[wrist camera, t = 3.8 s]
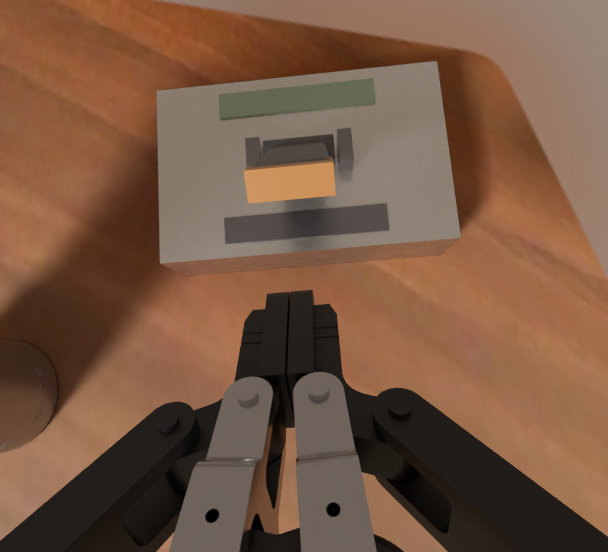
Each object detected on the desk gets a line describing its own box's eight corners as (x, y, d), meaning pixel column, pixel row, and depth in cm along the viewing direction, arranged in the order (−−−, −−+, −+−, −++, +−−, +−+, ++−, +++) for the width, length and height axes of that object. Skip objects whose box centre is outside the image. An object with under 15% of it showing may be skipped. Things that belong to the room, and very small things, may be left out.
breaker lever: (268, 169, 33) (235, 213, 19) (264, 139, 32) (227, 162, 18) (334, 163, 33) (350, 203, 19) (332, 132, 32) (347, 150, 18)
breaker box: (186, 276, 38) (148, 258, 30) (182, 128, 41) (145, 75, 33) (440, 255, 37) (469, 230, 29) (421, 103, 39) (443, 43, 32)
